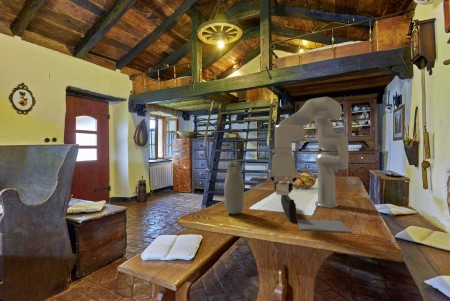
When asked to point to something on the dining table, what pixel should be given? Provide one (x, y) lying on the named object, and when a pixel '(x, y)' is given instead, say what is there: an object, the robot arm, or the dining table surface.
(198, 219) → the dining table surface
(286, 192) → the card box
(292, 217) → the magazine
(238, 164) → the glass bottle
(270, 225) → the dining table surface
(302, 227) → the mat
